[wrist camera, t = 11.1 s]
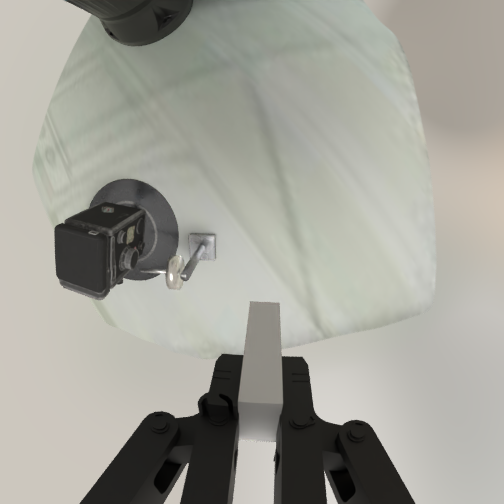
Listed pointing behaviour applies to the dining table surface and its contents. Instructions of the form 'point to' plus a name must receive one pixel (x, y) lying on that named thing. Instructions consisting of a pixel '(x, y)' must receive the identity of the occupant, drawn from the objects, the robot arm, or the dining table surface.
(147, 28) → the robot arm
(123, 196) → the disc
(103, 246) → the camera
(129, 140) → the dining table surface
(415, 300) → the dining table surface
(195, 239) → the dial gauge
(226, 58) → the dining table surface
